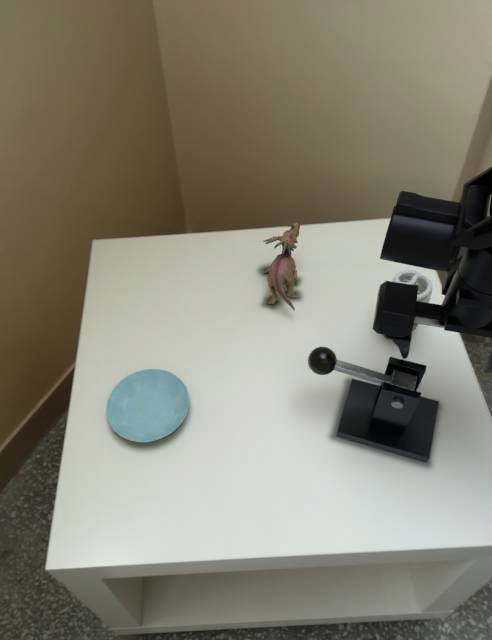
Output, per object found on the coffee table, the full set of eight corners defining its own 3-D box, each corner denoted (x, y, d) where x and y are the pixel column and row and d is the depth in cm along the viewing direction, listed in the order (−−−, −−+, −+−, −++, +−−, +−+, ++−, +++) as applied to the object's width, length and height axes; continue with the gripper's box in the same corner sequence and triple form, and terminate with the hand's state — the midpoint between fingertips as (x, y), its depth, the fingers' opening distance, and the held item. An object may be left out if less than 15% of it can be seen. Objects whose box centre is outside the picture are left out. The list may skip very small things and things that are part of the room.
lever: (302, 375, 68) (306, 360, 65) (310, 353, 70) (314, 337, 67) (405, 407, 65) (415, 393, 62) (410, 383, 67) (419, 369, 64)
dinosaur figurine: (263, 257, 92) (263, 215, 84) (298, 257, 91) (300, 215, 83) (261, 319, 84) (261, 280, 76) (299, 320, 84) (302, 280, 76)
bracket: (336, 436, 72) (346, 394, 63) (351, 382, 77) (362, 336, 67) (426, 462, 69) (451, 423, 60) (436, 405, 74) (461, 360, 64)
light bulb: (410, 315, 83) (429, 260, 73) (420, 344, 79) (442, 291, 70) (373, 318, 83) (388, 264, 73) (382, 348, 80) (398, 295, 70)
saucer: (94, 429, 75) (89, 422, 73) (136, 365, 81) (133, 357, 79) (165, 461, 72) (163, 455, 70) (205, 392, 77) (203, 384, 76)
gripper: (589, 228, 53) (525, 323, 66) (396, 205, 57) (372, 299, 70) (601, 313, 47) (529, 399, 60) (386, 281, 51) (361, 369, 64)
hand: (444, 362), depth 63 cm, fingers open, 9 cm apart
